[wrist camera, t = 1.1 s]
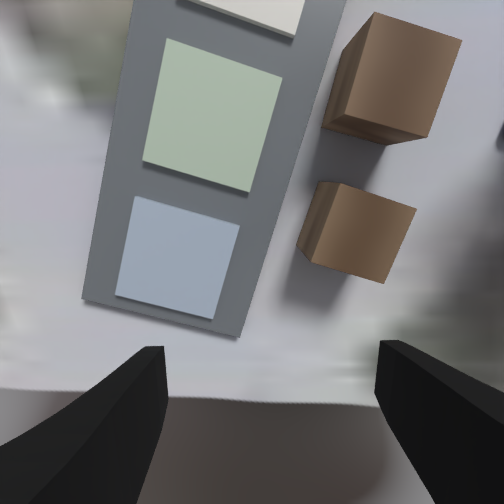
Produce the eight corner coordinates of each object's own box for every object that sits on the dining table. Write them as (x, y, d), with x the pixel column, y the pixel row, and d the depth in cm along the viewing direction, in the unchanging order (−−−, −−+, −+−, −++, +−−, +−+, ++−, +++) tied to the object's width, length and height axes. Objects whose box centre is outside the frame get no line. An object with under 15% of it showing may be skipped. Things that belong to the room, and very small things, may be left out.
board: (375, -100, 15) (385, -120, 14) (239, 332, 20) (239, 341, 19) (172, -187, 14) (167, -214, 13) (86, 295, 19) (78, 301, 18)
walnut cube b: (379, 201, 18) (417, 208, 15) (354, 262, 19) (383, 284, 15) (318, 181, 18) (340, 182, 14) (295, 244, 19) (310, 262, 15)
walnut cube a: (410, 71, 17) (462, 40, 13) (385, 145, 18) (427, 137, 14) (342, 50, 16) (374, 11, 12) (320, 127, 17) (344, 113, 13)
